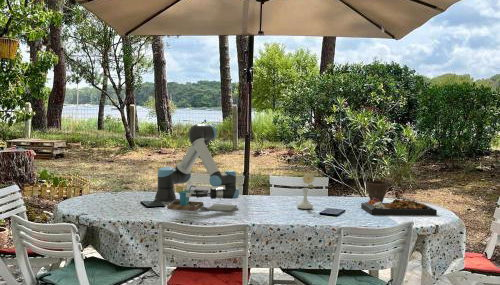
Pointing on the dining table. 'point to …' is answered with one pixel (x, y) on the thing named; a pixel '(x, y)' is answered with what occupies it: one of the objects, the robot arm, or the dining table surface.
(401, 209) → the food platter
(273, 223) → the dining table surface
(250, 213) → the dining table surface
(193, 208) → the wooden picture frame
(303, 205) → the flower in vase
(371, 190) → the plant pot
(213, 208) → the board
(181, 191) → the cup
